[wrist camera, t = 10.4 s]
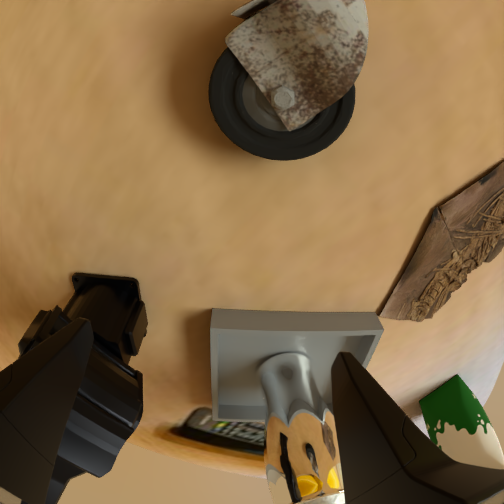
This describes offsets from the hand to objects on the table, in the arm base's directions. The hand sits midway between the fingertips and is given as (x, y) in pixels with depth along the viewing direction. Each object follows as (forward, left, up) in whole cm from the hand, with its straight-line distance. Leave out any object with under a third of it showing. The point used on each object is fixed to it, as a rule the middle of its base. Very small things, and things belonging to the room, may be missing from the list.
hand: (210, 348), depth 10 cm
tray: (+7, -17, -13) cm, 22 cm away
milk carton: (+34, -27, -13) cm, 45 cm away
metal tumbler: (+6, -17, -13) cm, 22 cm away
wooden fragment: (+23, +1, -14) cm, 27 cm away
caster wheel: (+4, +10, -14) cm, 17 cm away
